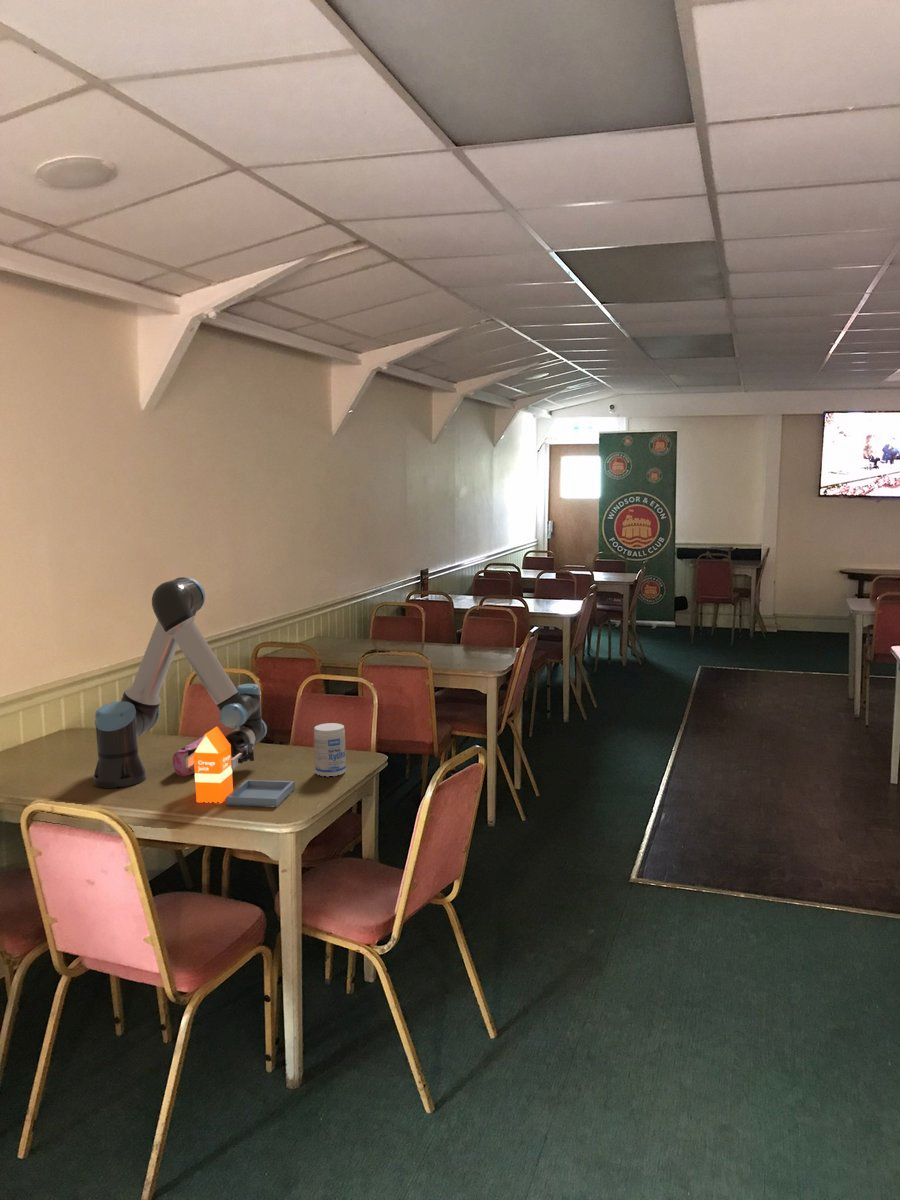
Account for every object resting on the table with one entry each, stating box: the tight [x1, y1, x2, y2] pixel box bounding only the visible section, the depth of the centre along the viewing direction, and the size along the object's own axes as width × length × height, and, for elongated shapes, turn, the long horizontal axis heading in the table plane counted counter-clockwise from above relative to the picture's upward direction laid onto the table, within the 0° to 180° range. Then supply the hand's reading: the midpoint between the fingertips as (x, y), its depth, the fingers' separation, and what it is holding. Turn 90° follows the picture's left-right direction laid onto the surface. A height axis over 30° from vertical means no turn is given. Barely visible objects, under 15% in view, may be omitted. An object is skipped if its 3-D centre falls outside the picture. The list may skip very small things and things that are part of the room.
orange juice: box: [194, 726, 234, 804], centre depth 265 cm, size 8×9×20 cm
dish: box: [225, 779, 296, 808], centre depth 265 cm, size 15×15×2 cm
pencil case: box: [171, 733, 206, 777], centre depth 295 cm, size 21×9×9 cm, turn 167°
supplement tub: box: [313, 722, 347, 778], centre depth 285 cm, size 10×10×15 cm
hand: (209, 763), depth 262 cm, fingers open, 13 cm apart
